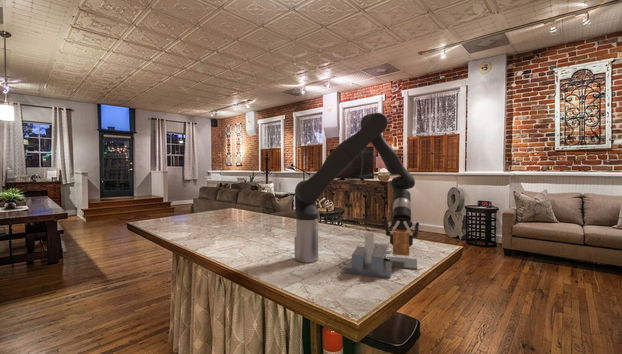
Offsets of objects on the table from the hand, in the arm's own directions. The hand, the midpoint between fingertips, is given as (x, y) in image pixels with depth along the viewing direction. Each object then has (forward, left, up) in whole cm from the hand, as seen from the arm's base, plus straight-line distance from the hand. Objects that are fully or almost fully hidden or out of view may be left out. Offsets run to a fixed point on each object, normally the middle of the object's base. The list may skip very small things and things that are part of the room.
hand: (401, 244), depth 115 cm
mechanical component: (-13, +15, -8) cm, 22 cm away
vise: (-8, -12, -8) cm, 17 cm away
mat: (0, +2, -8) cm, 8 cm away
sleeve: (0, +2, -4) cm, 4 cm away
